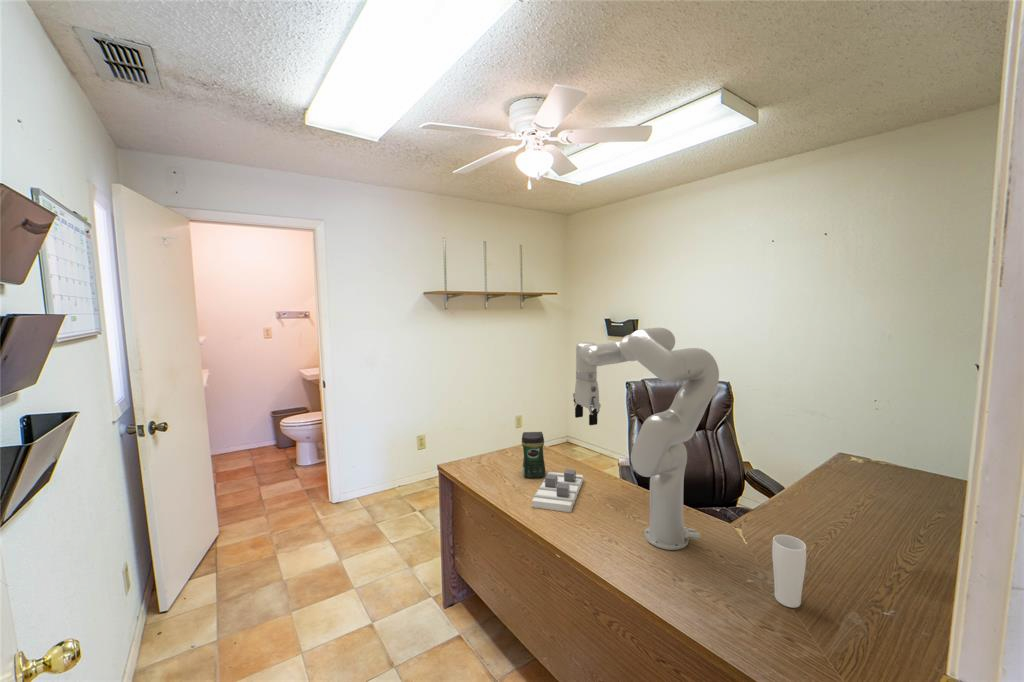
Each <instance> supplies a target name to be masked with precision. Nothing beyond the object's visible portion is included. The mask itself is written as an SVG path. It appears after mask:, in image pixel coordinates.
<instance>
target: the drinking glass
mask: <svg viewBox="0 0 1024 682" xmlns="http://www.w3.org/2000/svg"><path fill="white" fill-rule="evenodd" d="M771 557H772V558H771V559H772V570H773V572H772V573H773V582H774V583H773V586H774V598H775V600H776V601H777V602H778V603H779V604H781V605H782V606H784V607H786V608H791V609H796V608H799V607H800V606H801V605H802V593H803V586H804V579H805V573H806V566H807V545H806V543H805V542H804V541H803V540H801V539H800V538H797V537H795V536H792V535H789V534H776V535H774V536H773V538H772V546H771Z"/></svg>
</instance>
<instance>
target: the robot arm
mask: <svg viewBox="0 0 1024 682" xmlns="http://www.w3.org/2000/svg"><path fill="white" fill-rule="evenodd" d="M675 345H676V337H675V335H674V333H673V332H672V331H671V330H669V329H668V328H665V327H649V328H640V329H637V330H635V331H633V332H632V333H630V334H627V335H625V336H623V338H622V339H621V340H620V341H616V342H607V343H599V344H596V343H595V342H592V341H580V342H578V343H577V344H576V346H575V387H574V393H572V397H573V403H574V418H583V416H584V408H586V409H588V411H589V415H588V425H589V426H595V425H598V415H599V412H600V410H601V407H602V405H601V404H600V393H599V392H600V391H599V383H598V380H597V378H598V374H597V373H598V372H597V371H598V370H597V367H602V366H608V365H614V364H617V365H618V364H621V363H626V362H636V361H638V363H639V364H640V365H641V366H642V367H644V368H646V370H648V371H649V372H650V373H651V374H653V375H654V376H655V377H657V378H658V379H659V380H661V381H663V382H665V383H678V382H681V381H685V382H684V383H683V385H682V386H681V387H680V388H679V390H678V391H677V393H675V396H674V399H673V400H672V403H671V405H670V406H669V408H668V409H666V410H664V411H661V412H657V413H654V414H652V415H650V416H647V418H646V419H645V420H644V421H643V423H642V425H641V427H640V429H639V432H638V435H637V436H636V438H635V442H634V444H633V447H632V449H631V453H630V462H631V466H632V468H633V470H634V471H635V472H636V474H638V475H640V476H641V477H645V478H650V479H649V526H647V527H646V529H645V530H644V538H645V539H646V542H648V543H650V544H651V545H653V546H654V547H656V548H659V549H663V550H669V551H675V550H676V551H677V550H683V549H684V548H686V547H687V546H688V544H689V543H690V542H689V540H690V539H692V540H697V541H698V540H699V541H700V540H701V533H700V532H696V530H695V528H691V527H686V526H685V521H684V479H685V471H686V466H687V461H688V451H687V448H686V446H685V444H684V443H685V442H687V441H690V440H691V439H692V438H693V437H694V435H695V433H696V430H697V428H698V427H699V424H700V422H701V420H702V418H703V416H704V415H705V412H706V409H707V408H708V405H709V404H710V402H711V400H712V398H713V396H714V395H715V392H716V391H717V388H718V386H719V381H720V371H719V365H718V363H717V360H716V358H715V357H714V356H713V355H712V354H711V353H710V352H708V351H707V350H705V349H703V348H699V347H698V348H697V347H688V348H682V349H674V348H675ZM673 349H674V350H673Z"/></svg>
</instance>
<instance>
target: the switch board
mask: <svg viewBox="0 0 1024 682" xmlns="http://www.w3.org/2000/svg"><path fill="white" fill-rule="evenodd" d="M547 474H549V475H557V482H558V483H562V484H569V487H570V493H569V496H568V498H567V497H558V496H557V486H556V488H552V487H545V478H544V479H543V480H542V484H541V485H540V486H538V490H537V491H536V493H535V494H534V495H533V498H532V500H531V508H535V509H544V510H550V511H556V512H557V511H558V512H565V513H572V510H573V508H574V506H573V505H575V503H576V501H577V498H578V496H577V495H579V493H580V491H579V490H581V488H582V486H581V485H583V483H584V474H576V480H575V482H566V481H564V472H555V471H548V472H547V473H546V475H547ZM557 485H558V484H557ZM575 500H576V501H575Z"/></svg>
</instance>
